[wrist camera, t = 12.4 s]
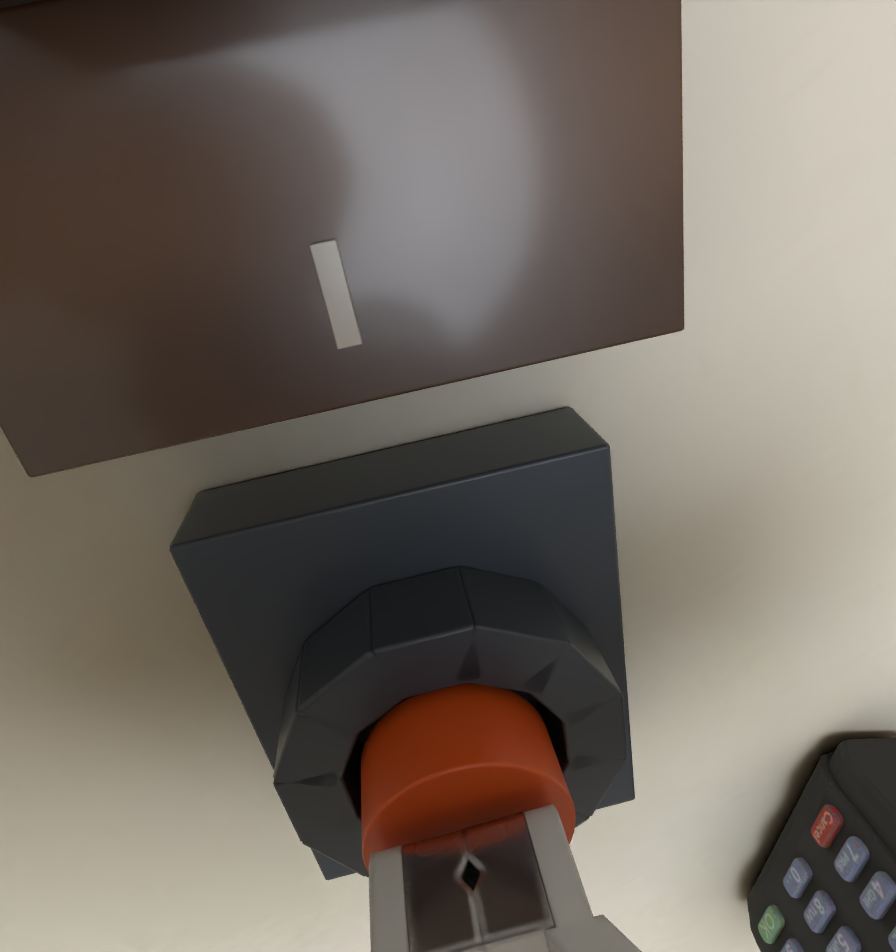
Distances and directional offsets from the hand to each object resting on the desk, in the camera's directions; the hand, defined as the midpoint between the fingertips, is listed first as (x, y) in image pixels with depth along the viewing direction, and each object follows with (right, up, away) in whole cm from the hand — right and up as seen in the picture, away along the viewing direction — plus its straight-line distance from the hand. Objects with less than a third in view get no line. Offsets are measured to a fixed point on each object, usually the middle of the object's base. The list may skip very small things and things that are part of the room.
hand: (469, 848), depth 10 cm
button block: (-1, +2, +5) cm, 6 cm away
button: (0, +1, +2) cm, 2 cm away
